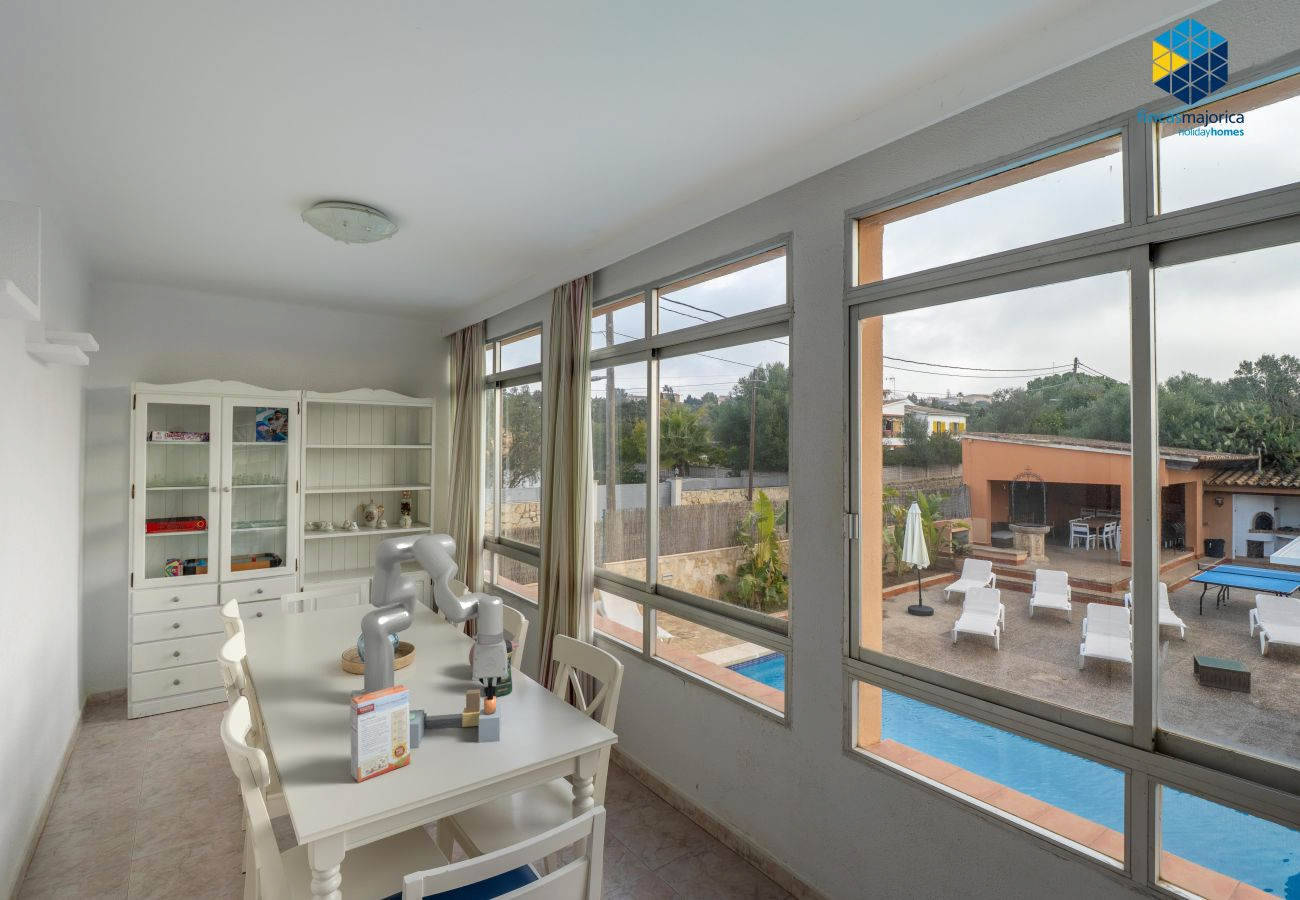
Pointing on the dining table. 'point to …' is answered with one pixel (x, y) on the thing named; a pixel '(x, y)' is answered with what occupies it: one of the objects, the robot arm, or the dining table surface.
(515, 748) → the dining table surface
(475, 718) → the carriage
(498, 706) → the cabinet far
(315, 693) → the dining table surface
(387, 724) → the cracker box
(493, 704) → the orange rounded cube
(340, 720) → the dining table surface
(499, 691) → the coffee jar
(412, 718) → the cabinet near
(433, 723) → the rail
